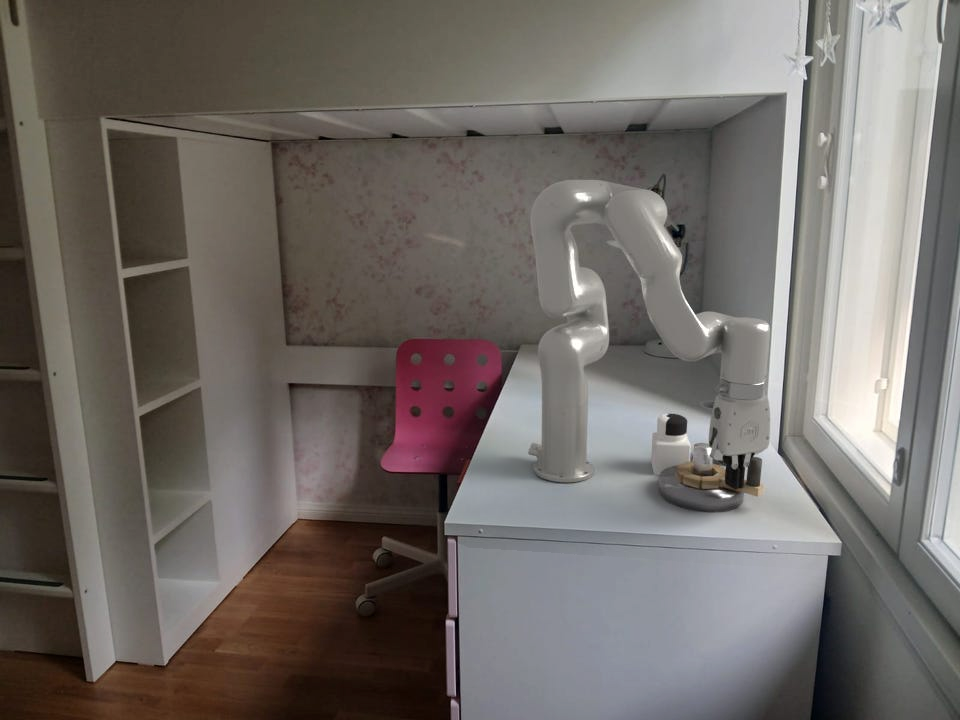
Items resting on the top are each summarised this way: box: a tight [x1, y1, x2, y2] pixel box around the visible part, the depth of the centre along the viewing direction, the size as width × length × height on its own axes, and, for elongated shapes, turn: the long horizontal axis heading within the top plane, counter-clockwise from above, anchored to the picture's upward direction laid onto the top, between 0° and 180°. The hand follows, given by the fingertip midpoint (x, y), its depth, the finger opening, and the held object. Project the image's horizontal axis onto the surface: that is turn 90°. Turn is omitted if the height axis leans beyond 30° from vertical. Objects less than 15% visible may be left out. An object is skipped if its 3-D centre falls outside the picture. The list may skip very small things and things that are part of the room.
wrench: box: [675, 456, 764, 498], centre depth 138 cm, size 16×10×7 cm, turn 49°
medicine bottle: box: [650, 413, 692, 476], centre depth 153 cm, size 7×7×12 cm
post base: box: [658, 442, 745, 513], centre depth 141 cm, size 16×16×10 cm
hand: (733, 485), depth 131 cm, fingers closed
